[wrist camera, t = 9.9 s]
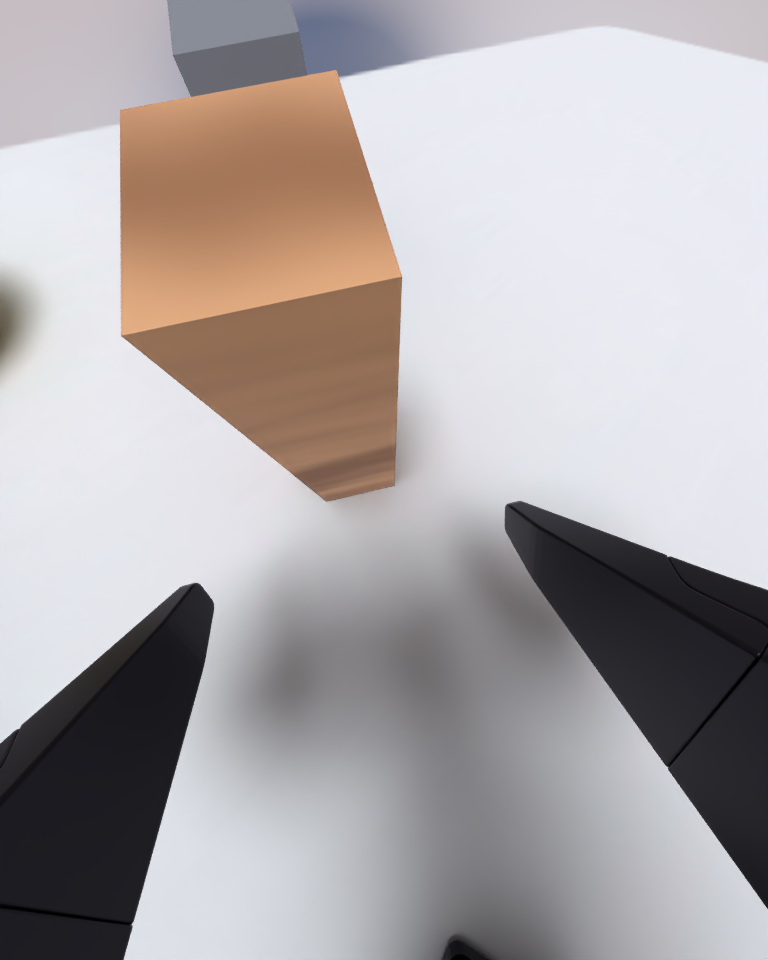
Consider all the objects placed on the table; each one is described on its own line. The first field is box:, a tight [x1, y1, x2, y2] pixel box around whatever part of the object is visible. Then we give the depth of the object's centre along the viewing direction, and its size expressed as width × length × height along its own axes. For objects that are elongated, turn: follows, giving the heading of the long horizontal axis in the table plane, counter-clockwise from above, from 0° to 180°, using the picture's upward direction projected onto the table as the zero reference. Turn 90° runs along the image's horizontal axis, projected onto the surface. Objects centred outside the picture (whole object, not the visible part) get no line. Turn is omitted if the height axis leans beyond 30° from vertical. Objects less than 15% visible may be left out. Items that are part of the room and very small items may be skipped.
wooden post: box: [120, 70, 402, 502], centre depth 11 cm, size 5×4×13 cm
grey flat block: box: [167, 0, 307, 97], centre depth 16 cm, size 10×4×11 cm, turn 14°
